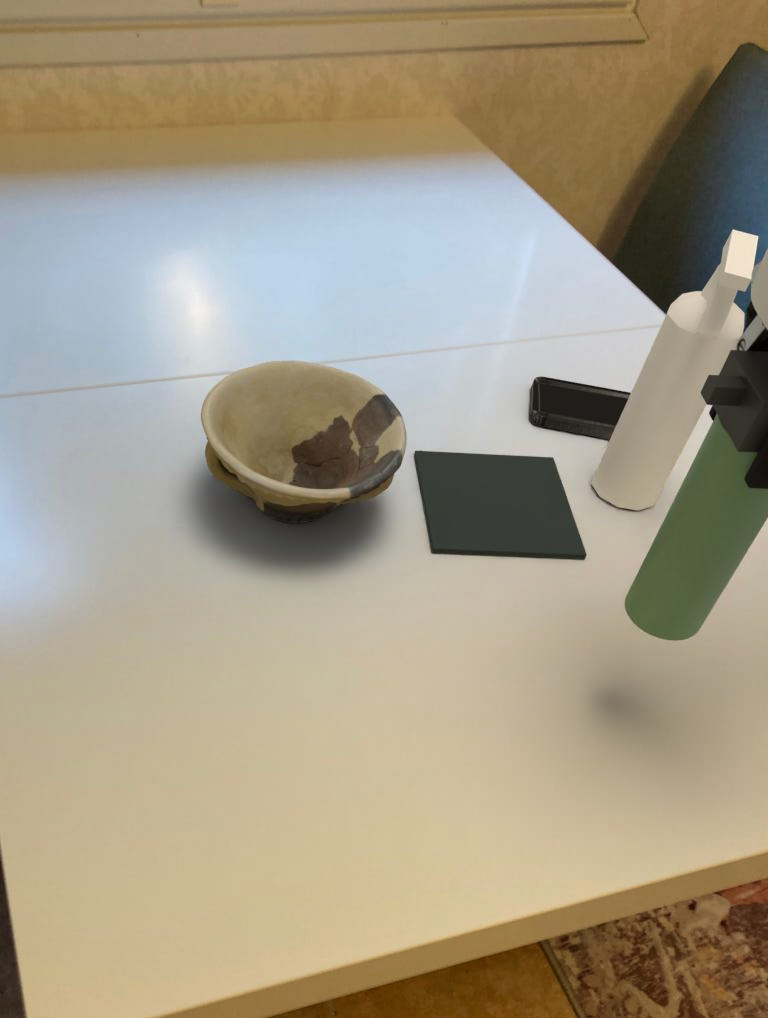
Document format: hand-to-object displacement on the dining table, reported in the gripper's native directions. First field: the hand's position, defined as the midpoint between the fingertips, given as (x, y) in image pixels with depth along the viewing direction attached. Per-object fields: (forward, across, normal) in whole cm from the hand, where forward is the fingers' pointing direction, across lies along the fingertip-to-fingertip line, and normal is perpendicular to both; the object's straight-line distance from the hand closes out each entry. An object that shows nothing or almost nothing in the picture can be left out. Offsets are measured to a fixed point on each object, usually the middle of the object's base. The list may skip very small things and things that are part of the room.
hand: (752, 449), depth 55 cm
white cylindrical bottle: (+25, +27, -8) cm, 37 cm away
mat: (+24, +23, +6) cm, 34 cm away
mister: (+14, 0, 0) cm, 14 cm away
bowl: (+24, +22, +25) cm, 41 cm away
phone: (+25, +38, -8) cm, 46 cm away
